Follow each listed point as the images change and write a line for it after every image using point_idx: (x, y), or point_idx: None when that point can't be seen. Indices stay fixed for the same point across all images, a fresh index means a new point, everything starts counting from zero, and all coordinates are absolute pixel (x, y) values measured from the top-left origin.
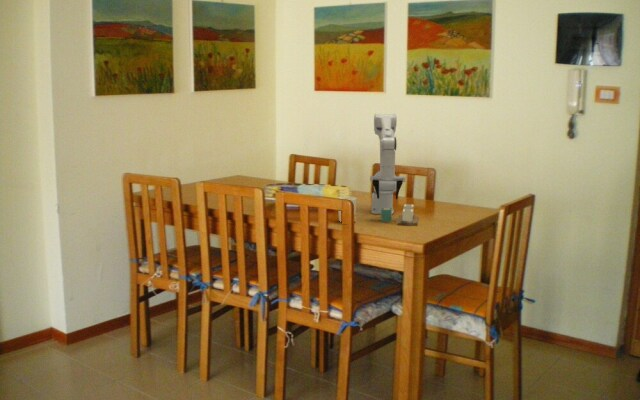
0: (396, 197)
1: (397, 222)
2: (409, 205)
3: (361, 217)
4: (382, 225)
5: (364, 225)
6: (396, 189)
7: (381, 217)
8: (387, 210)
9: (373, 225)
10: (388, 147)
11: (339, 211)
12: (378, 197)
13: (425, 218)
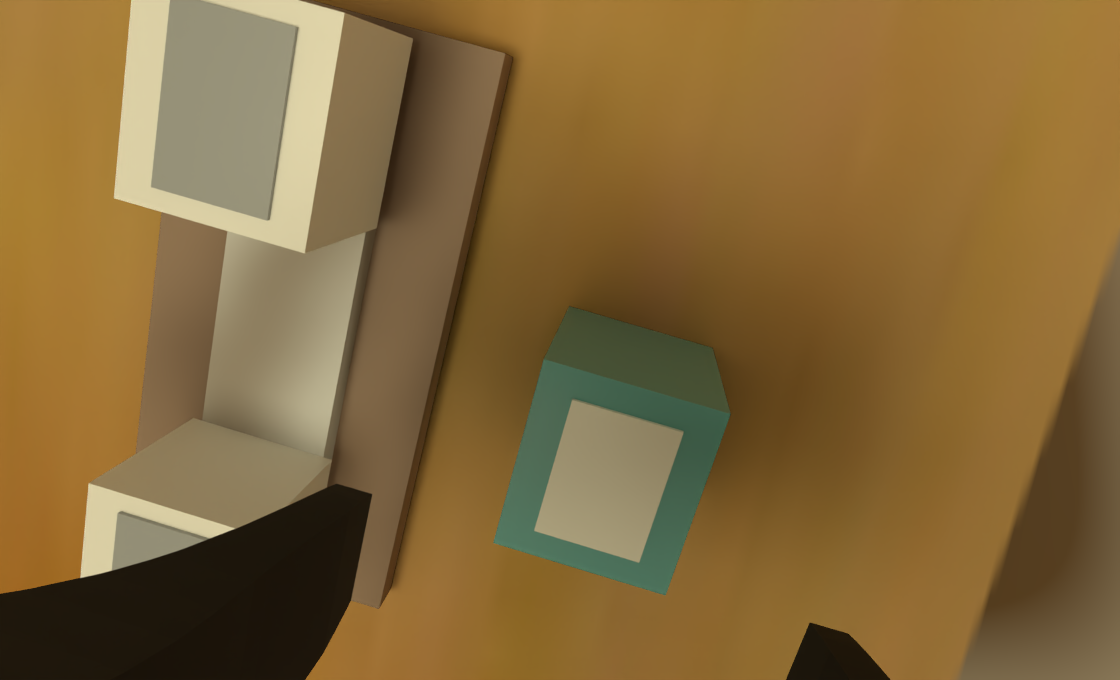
0: (336, 497)
1: (502, 64)
2: None
3: (937, 660)
4: (767, 48)
5: (1088, 76)
6: (212, 606)
7: (715, 366)
8: (612, 378)
9: (925, 62)
10: None
11: None
12: (830, 637)
13: (57, 465)
